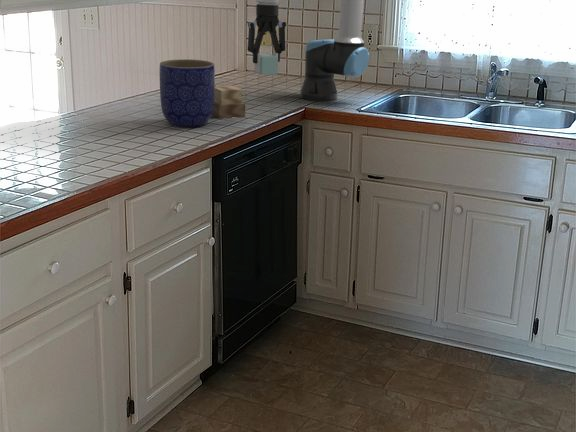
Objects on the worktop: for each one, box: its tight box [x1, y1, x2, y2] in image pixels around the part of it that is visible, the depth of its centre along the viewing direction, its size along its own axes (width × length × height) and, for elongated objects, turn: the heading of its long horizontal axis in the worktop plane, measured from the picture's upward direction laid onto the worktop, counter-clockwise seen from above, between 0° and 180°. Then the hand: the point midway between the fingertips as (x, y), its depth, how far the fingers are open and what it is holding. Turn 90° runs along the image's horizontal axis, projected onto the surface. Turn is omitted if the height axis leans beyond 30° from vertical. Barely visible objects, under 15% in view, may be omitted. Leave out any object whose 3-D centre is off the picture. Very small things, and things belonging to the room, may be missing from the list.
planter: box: [159, 59, 216, 128], centre depth 275 cm, size 18×18×21 cm
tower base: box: [212, 102, 246, 120], centre depth 293 cm, size 10×10×5 cm
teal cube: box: [254, 54, 279, 76], centre depth 282 cm, size 6×6×6 cm
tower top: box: [214, 85, 243, 105], centre depth 291 cm, size 8×8×5 cm
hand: (266, 72), depth 283 cm, fingers closed on teal cube, 6 cm apart
